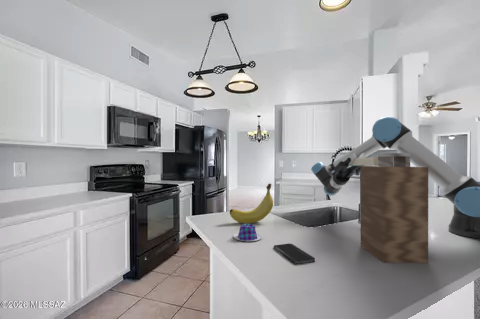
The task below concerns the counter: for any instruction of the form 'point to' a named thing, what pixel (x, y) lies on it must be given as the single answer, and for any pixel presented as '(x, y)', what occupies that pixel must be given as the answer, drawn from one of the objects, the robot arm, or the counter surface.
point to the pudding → (247, 233)
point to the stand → (395, 210)
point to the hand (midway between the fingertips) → (359, 155)
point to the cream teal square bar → (365, 161)
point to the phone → (294, 254)
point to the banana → (257, 212)
